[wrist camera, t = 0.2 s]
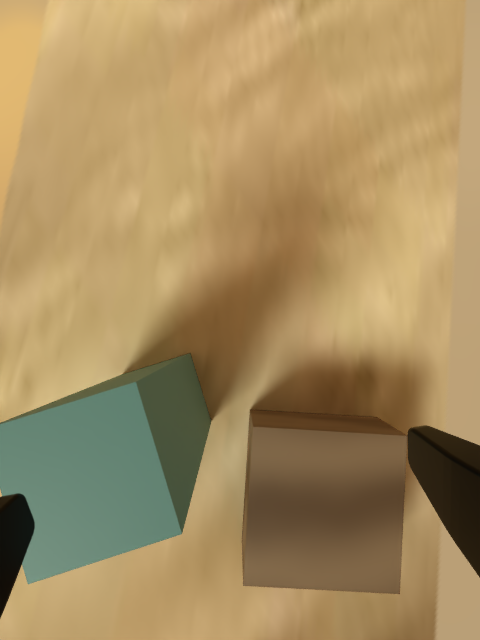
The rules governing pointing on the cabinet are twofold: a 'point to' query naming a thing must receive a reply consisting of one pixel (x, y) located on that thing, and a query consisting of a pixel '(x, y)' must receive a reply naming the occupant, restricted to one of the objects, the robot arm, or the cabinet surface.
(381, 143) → the cabinet surface
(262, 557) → the walnut base block
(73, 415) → the pillar block
